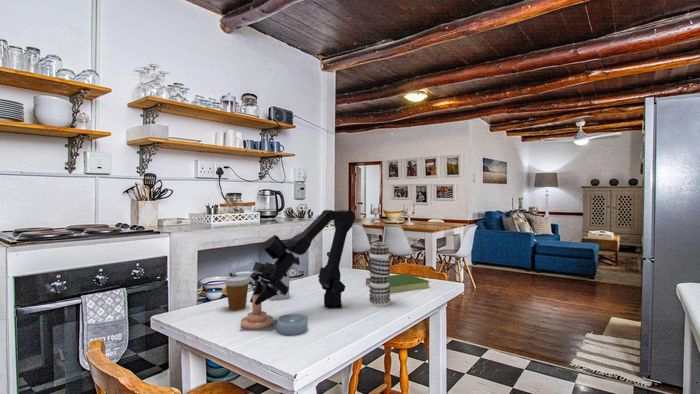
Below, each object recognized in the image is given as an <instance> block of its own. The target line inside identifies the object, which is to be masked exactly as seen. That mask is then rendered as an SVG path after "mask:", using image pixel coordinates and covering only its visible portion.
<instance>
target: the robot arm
mask: <svg viewBox="0 0 700 394" xmlns="http://www.w3.org/2000/svg"><path fill="white" fill-rule="evenodd" d="M355 219H356V215H355V213H354V212H353V211H352V210H349V209H338V210H337V211H336V210H332V209H323V211H322V212H321V213H320V214H319V215H318V216H317V217H316V218H315V219H314V221H312V222H311V223H310V224H309V226H307V227H306V228H305V229H304V230H303V231H302V232H299V233H298V234H295V235H294V236H293V237H291V238H290V239H288V240H287V241H286V242H283V241H282V240H281V239H280V237H279V236H278V235H276V234H274V235H273V236H272V237H269V238H268V239H267V240H264V242H263V243H262V245H261V249H262V250H263V251H264V252H265V253H266V254H267V256H269V257H270V258H271V259H272V260H275V261H274V262H273V263H274V264H273V263H270V262H269V261H268V262H265V263H261V262H258V261H255V262H254V265H253V268H252V271H253V272H252V273H251V274H250V276H249V278H250V279H252V280H253V282H254V285H255V287H254V289H253V291H252V295H255V294H260V295H259V296H258V298H257V299H256V301H255V303H254V304H255V305H258V304H260V303H261V304H262V303H263V302H266V301H267V300H269V299H270V298H271V297H273V296H275V295H278V293H277V292H278V290H279V291H280V294H282V295H284V296H285V295H286V294H287V292H288V287H287V286H286V285H285V284H284V283H283V282H282V281H281V280H282V278H283V277H287V274H286V273H287V272H288V270H289V269H291V268H292V267H293V265H297V266H300V265H301V263H300V257H298V256H304V255H305V253H307V251H308V250H309V249H310V247H311V245H312V242H313V240H314V239H315V237H317V236H318V234H320V233H321V232H322V230H323V229H324V228H325V227H327V225H329V224H330V223H331V221H333V226H334V234H333V239H332V242H331V247H330V250H329V255H328V259H327V263H326V265H325V266H324V267H320V269H319V274H318V276H317V278H318V283H319V285H321V288H322V290H324V291H325V292H324V293H323V294H324V295H323V306H324V307H325V309H326V308H327V309H330V308H333V309H334V308H342V293H343V292H345V290H346V285H345V284H344V283H343V282H342V281H341V270H340V264H341V259H342V255H343V251H344V248H345V242H346V240H347V234H348V232H349V231H350V229H352V227H353V225H354V222H355ZM295 255H298V256H295ZM249 302H250V303H251V304H252V296H251V297H250V300H249Z"/></svg>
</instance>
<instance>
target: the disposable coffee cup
mask: <svg viewBox="0 0 700 394" xmlns="http://www.w3.org/2000/svg"><path fill="white" fill-rule="evenodd" d="M249 278H250V277H248V276H246V275H245V276H244V275H238V276H235V275H234V276H230V277H226V278H225V281H224V284H225V288H226V294H227V295H226V296H227V304H228V309H229V311H241V310H244V309H247V308H246V307H247V299H248V292H249V283H250V282H251V281H250V279H249Z"/></svg>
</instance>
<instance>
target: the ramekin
mask: <svg viewBox="0 0 700 394" xmlns="http://www.w3.org/2000/svg"><path fill="white" fill-rule="evenodd" d="M276 319H277V323H276V332H277V334H279V335H282V336H289V337H290V336H293V337H294V336H299V335H302V334H305V333H306V332H308V329H309V327H308V324H309V323H308V316H307V315H306V314H301V313H289V314H284V315H281V316H279V317H277V318H276Z"/></svg>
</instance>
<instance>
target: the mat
mask: <svg viewBox="0 0 700 394" xmlns="http://www.w3.org/2000/svg"><path fill="white" fill-rule="evenodd" d="M277 319H278V318H276V319H274V318H273V325H271V326H270V327H267V328H264V329H258V330H248V329H244V328H242V327H241V328H240V329H239V332H271V331H273V330H274V329H275V327H276V326H277Z"/></svg>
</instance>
